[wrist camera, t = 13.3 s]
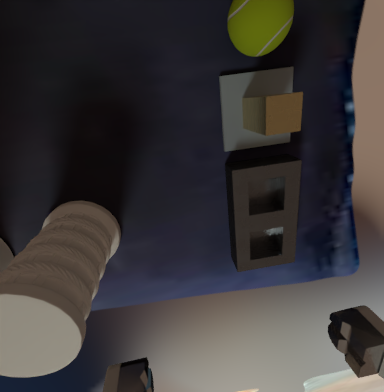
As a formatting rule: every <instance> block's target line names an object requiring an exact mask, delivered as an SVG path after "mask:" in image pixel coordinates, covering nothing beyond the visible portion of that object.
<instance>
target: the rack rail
mask: <svg viewBox="0 0 384 392" xmlns="http://www.w3.org/2000/svg"><path fill="white" fill-rule="evenodd" d="M301 161H302V160H300V159H298V158H295V157H293V156H291V155H288V154H285V155H279V156H272V157H265V158H259V159H252V160H246V161H239V162H233V163H226V164H225V171H226V186H227V200H228V215H229V230H230V244H231V257H232V260H233V262H234V264H235V267H236V269H237V272H241V271H246V270H252V269H258V268H263V267H269V266H275V265H280V264H286V263H291V262H294V261H295V246H296V232H297V218H298V204H299V190H300V175H301Z"/></svg>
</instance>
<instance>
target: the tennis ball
mask: <svg viewBox="0 0 384 392" xmlns="http://www.w3.org/2000/svg"><path fill="white" fill-rule="evenodd" d="M293 15H294V3H293V0H233V2H232V4H231V7H230V10H229V14H228V32H229V36H230V38H231V41H232V43H233V44H234V46H235V47H236V48H237V49H238V50H239V51H240V52H242V53H243V54H245V55H248V56H262V55H265V54H267V53H269V52H271V51H272V50H274V49H275V48H276V47H277V46H278V45H279V44H280V43H281V42H282V41H283V40H284V38H285V37H286V35H287V33H288V31H289V29H290V27H291V24H292V21H293Z"/></svg>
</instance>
